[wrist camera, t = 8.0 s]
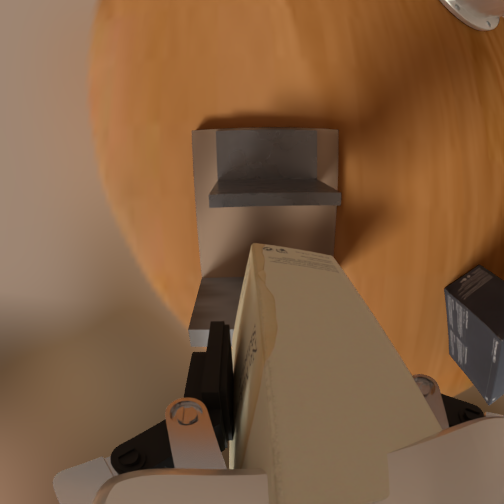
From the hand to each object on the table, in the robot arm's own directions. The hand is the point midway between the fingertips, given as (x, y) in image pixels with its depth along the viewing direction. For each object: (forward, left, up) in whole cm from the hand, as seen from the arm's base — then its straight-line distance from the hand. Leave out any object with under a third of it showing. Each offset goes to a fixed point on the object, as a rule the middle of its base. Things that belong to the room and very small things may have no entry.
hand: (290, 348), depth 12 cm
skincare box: (0, 0, -4) cm, 4 cm away
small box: (-28, +12, -17) cm, 34 cm away
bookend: (0, -7, -15) cm, 16 cm away
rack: (0, -1, -16) cm, 16 cm away
